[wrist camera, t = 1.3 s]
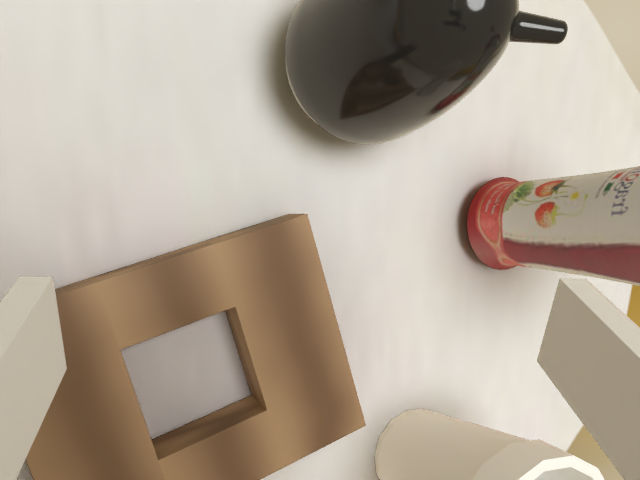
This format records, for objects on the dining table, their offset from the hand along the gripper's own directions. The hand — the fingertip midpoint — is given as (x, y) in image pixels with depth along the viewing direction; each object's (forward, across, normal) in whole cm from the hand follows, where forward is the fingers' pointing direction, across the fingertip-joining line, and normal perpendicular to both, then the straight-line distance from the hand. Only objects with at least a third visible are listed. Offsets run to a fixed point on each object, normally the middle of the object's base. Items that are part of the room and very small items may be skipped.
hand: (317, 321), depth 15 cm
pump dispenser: (+26, +4, +2) cm, 27 cm away
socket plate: (+16, -5, -14) cm, 22 cm away
